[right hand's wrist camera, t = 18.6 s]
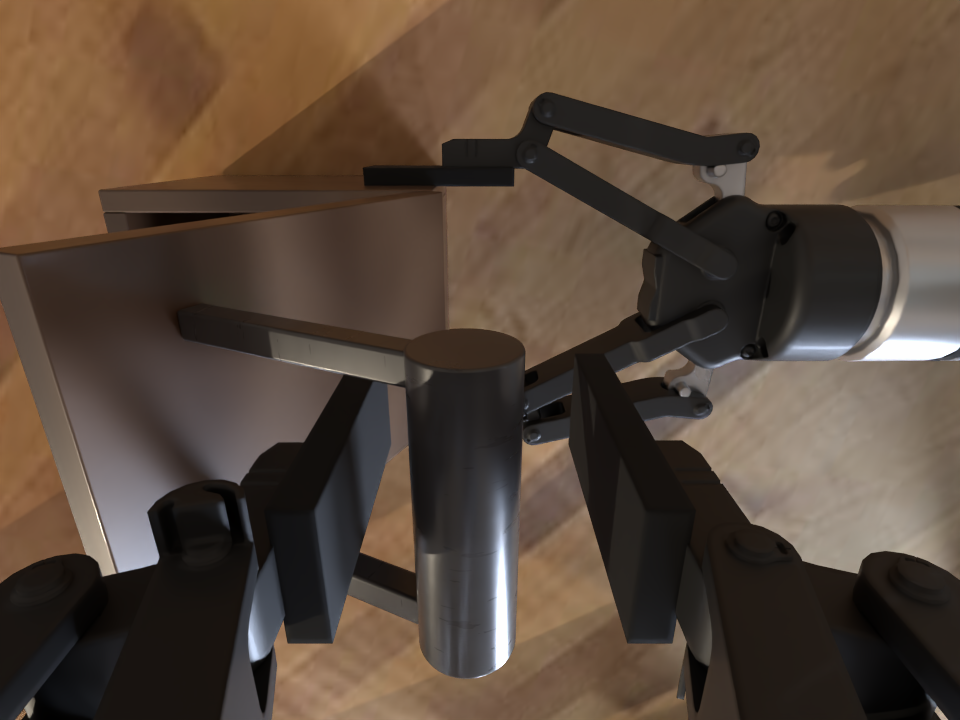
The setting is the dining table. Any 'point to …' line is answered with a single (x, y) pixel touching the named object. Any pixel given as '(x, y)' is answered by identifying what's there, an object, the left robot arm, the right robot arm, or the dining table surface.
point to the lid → (281, 388)
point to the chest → (240, 200)
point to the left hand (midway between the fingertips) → (377, 284)
